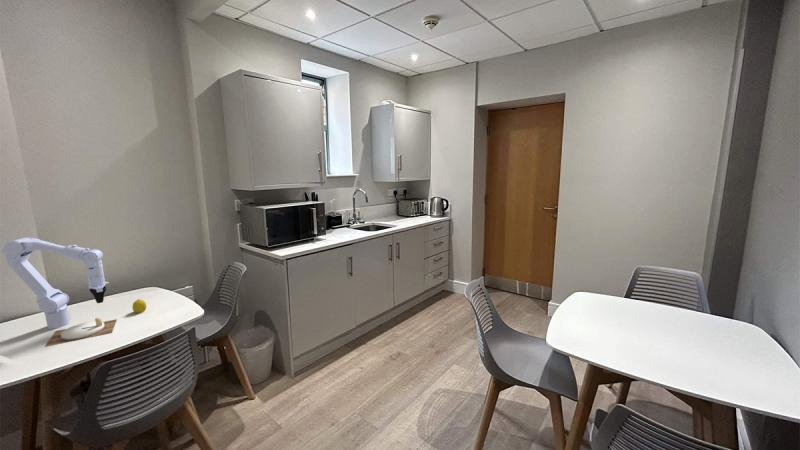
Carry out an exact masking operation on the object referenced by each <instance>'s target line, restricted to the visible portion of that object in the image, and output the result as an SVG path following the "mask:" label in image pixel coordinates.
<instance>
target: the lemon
mask: <svg viewBox="0 0 800 450" xmlns="http://www.w3.org/2000/svg"><path fill="white" fill-rule="evenodd" d="M146 309H147V303H146V302H145V300H143V299H139V298H138V299H136V300H135V301H134V302H133V303H132V311H133V312H134V313H135V314H140V313H141V314H143V313H144V312H145V311H146Z"/></svg>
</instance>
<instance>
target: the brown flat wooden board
mask: <svg viewBox="0 0 800 450" xmlns="http://www.w3.org/2000/svg"><path fill="white" fill-rule="evenodd" d="M117 320H118V319H117V318H115V319H112V320H106V321H102V322H103V323H104V326H105V327H104V329H103V330H102V331H100V332H98V333H96V334H94V335H91V336H88V337H84V338H80V339H74V340H64V339H62V338H61V332H62V331H64V330H65V329H66V328H63V329H60V330H55V331H54V333H53V334H52V336H50V338H49V339H48V341H47V343H45V345H44V348H46V347H47V348H48V347H51V346H52V347H53V346H55V345H61V344H65V343H70V342H71V343H72V342H76V341H81V340H84V339H89V338H94V337H95V338H96V337H99V336H106V335H108V334H110V335H111V334H113V331H114V328H115V326H116V324H117Z"/></svg>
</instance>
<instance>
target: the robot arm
mask: <svg viewBox="0 0 800 450" xmlns="http://www.w3.org/2000/svg"><path fill="white" fill-rule="evenodd" d="M35 251H43V252H50V253H54V254H55V253H56V254H61V255H62V257H64V258H66V259H72V260H77V261H80V262H82V263H83V264H84V265H85V269H86V270H85V271H86V277H87V282H88V285H87V286H88V288H89V293H91V294H92V296H93V297H94V300H95V302H96V303H97V304H101V303H104V299H105V297H104V296H105V293H106V291H107V287H106V285H109V281H106V279H105V273H104V266H103V261H102V259H103V258H104V252H103V251H102V250H101V249H97V248H92V249H90V248H89V247H80V246H78V245H77V244H72V245H71V244H70V245H68V246H65V245H61V244H56V243H53V242H49V241H46V240H42V239H39V238H36V237H31V236H25V237H21V238H18V239H15V240H10V241H7V242H6V243H4V245H3V247H2V249H1V252H2V254H4V256H5V260H6V264H7V265H8V266H9V267H10V269H12V271H13V272H14V273H16V275H18V277H19V278H20V280H22V281H23V282H24V283H25V284H26V286H27V287H28V288H29V289H31V291H32V292H33V293H34V294H35V295H36V301H35V302H36V303H37V305H38V307H39V309H40V311H41V312H42V313H44V317H45V322H46V327H47V329H48V330H52V329H54V330H55V329H59V328H62V327H65V326H68V325H69V324H71V323H70V321H71V314H70V309H69V308H68V303H69V302H70V297H69V295H68V294H66V293H64V292H62V291H61V290H60V289H57V288H54V287H52V285H50V283H49V282H48V281H47V280H46V279H45V278H44V277H43V276H42V274H40V272H39V271H38V270H37V269H36V268H35V267H34V266H33V265H32V263H30V261H28V260H29V258H30V255H31V253H32V252H35Z"/></svg>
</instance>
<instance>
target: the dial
mask: <svg viewBox="0 0 800 450" xmlns="http://www.w3.org/2000/svg"><path fill="white" fill-rule="evenodd" d="M103 322H104V321H102V317H96V318H95V319H94V321H88V322H82V323H80V324H79V323H78V324H76V325H72V326H70V327H67V328H64V329H65V330H64V331H62V332H61V338H62V339H64V340H74V339H80V338H84V337H88V336H91V335H94V334H96V333H98V332H100V331H102V330H103V329H104V327H105V326H104V323H103Z"/></svg>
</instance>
